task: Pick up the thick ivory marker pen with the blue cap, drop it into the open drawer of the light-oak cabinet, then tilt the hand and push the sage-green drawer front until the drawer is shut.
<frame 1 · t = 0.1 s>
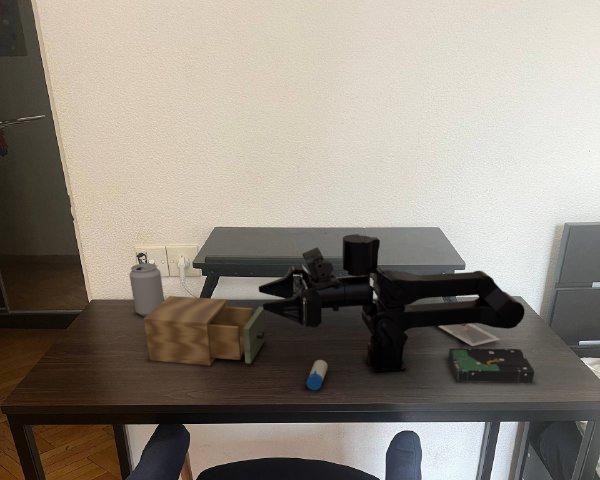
hand: (260, 297, 109), 17 cm above the table, tool horizontal, fingers open, 9 cm apart
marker: (318, 379, 116), on the table
disk drive: (488, 371, 118), on the table
cabinet: (191, 349, 129), on the table
touchpad: (463, 335, 134), on the table
drawer: (232, 332, 124), point 5 cm above the table, slide at 7.5 cm
can: (150, 312, 148), on the table
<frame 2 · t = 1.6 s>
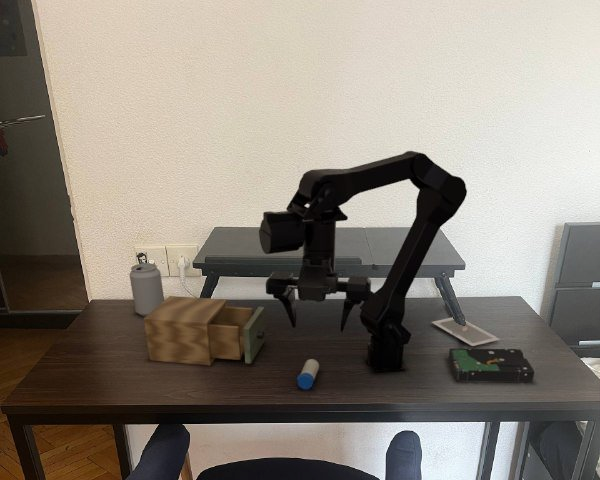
hand: (317, 329, 110), 11 cm above the table, tool pointing down, fingers open, 9 cm apart
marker: (315, 375, 115), point 1 cm above the table, tilted 71°
everything else where it was.
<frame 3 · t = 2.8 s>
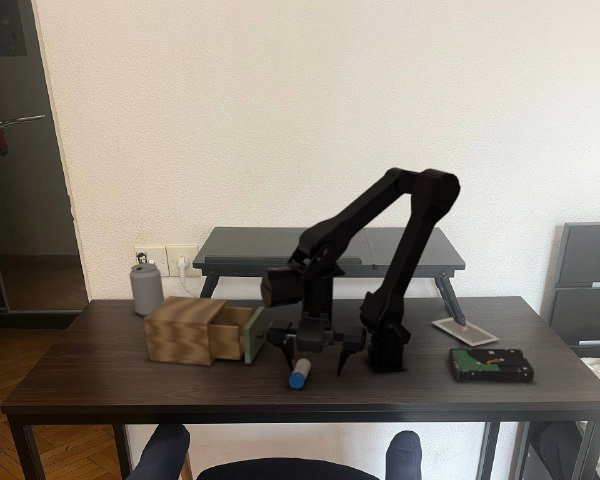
hand: (315, 374, 115), 1 cm above the table, tool pointing down, fingers open, 9 cm apart
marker: (305, 367, 115), point 3 cm above the table, tilted 140°, touching gripper
everything else where it was.
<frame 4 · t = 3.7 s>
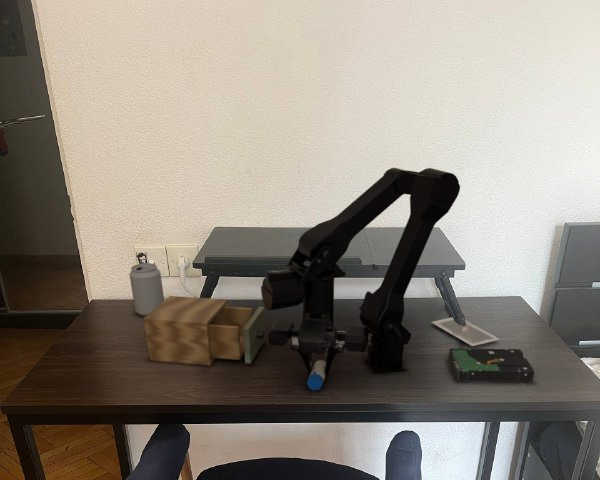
hand: (318, 375, 115), 1 cm above the table, tool pointing down, fingers closed on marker, 3 cm apart
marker: (319, 380, 116), on the table, tilted 8°, touching gripper
everything else where it was.
when the fingers open (7 cm above the table, at t = 8.0 s): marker drops 4 cm, resting on drawer.
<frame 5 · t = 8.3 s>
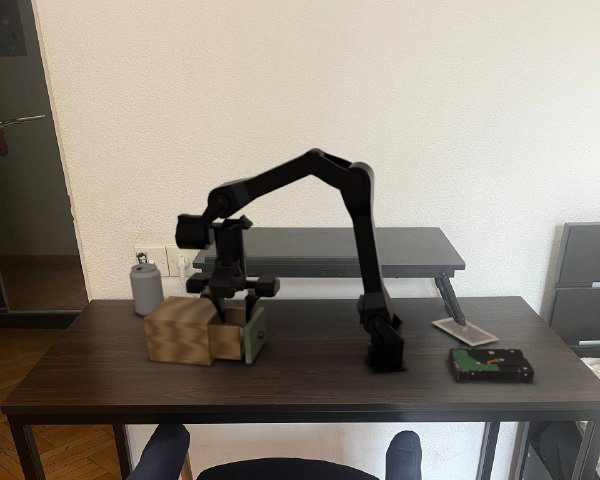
hand: (236, 323, 123), 7 cm above the table, tool pointing down, fingers open, 5 cm apart
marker: (237, 345, 125), point 2 cm above the table, tilted 19°, touching drawer
drawer: (233, 332, 124), point 5 cm above the table, slide at 7.6 cm, touching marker
everything else where it was.
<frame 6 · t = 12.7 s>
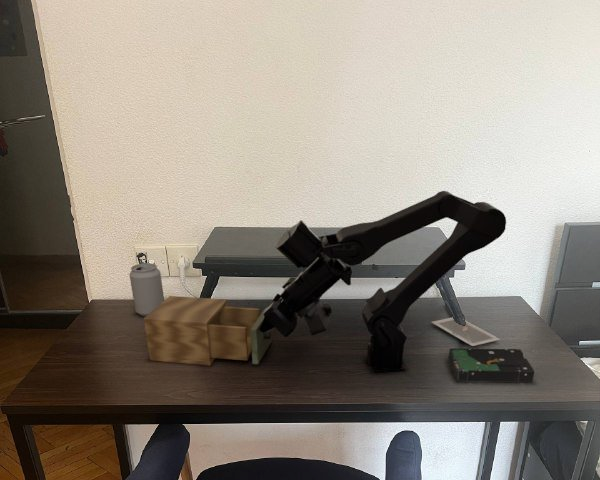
hand: (261, 330, 119), 7 cm above the table, tool tilted 45°, fingers closed, pressing on drawer
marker: (232, 334, 124), point 4 cm above the table, tilted 135°, touching drawer
drawer: (239, 333, 124), point 5 cm above the table, slide at 9.1 cm, touching gripper, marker
everything else where it was.
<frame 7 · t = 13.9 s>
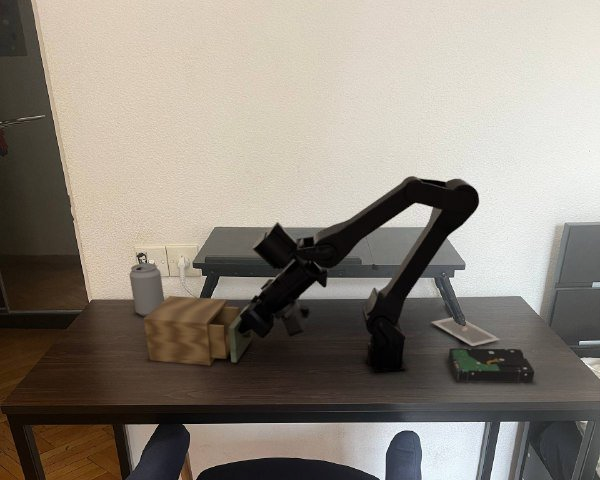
hand: (239, 331, 120), 7 cm above the table, tool tilted 45°, fingers closed, pressing on drawer
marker: (218, 336, 125), point 4 cm above the table, tilted 99°, touching drawer
drawer: (218, 331, 125), point 5 cm above the table, slide at 4.4 cm, touching gripper, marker
everything else where it was.
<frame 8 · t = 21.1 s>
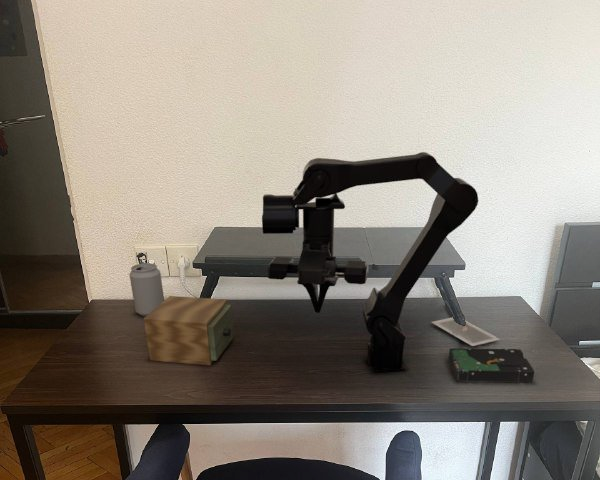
hand: (317, 312, 115), 12 cm above the table, tool pointing down, fingers closed
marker: (191, 330, 126), point 5 cm above the table, tilted 141°, touching drawer
drawer: (199, 330, 126), point 5 cm above the table, slide at 0.0 cm, touching cabinet, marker
everything else where it was.
at the end: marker inside the target area in the cabinet (0.6 cm from its centre), point 4.6 cm above the cabinet's base; drawer slide at 0.0 cm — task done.
